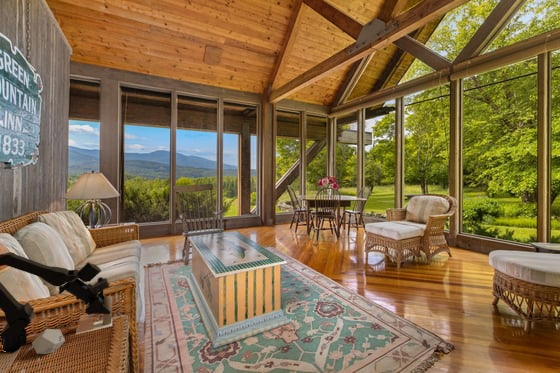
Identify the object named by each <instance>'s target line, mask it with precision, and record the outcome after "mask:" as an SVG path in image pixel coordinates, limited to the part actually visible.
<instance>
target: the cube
mask: <svg viewBox="0 0 560 373" xmlns="http://www.w3.org/2000/svg"><path fill="white" fill-rule="evenodd" d="M94 321H95V314H90V315H88V314H86V313H85V314H83V315H82V314H81V315H79V324H78V326H79V332H83V331H87V330H92V329H93V326H94Z"/></svg>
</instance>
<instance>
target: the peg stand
mask: <svg viewBox="0 0 560 373" xmlns="http://www.w3.org/2000/svg"><path fill="white" fill-rule="evenodd" d="M113 299H114V298H113V295H107V296H105V298H104V304H103V305H104V306H105V307H106V308H108V309H109V310H110V312H111V313H110V314H102V320H99V321H95V322H94V326H93V329H92V330H87V331H83V332H79V328H77V327H76V330H75V335H79V334H83V333H88V332H92V331H96V330H100V329H104V328H106V329H107V328H109V327H112V326H113V318H112V313H113Z"/></svg>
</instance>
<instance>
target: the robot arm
mask: <svg viewBox="0 0 560 373" xmlns="http://www.w3.org/2000/svg"><path fill="white" fill-rule="evenodd" d="M3 266H7V267H10V268H13V269H15V270H19V271H22V272H25V273H27V274H31V275H34V276H36V277H39V278H41V279H42V280H43V281H44V282H45V283H47V284H49V285H52V286H53V287H58V290H59V291H58V295H61V294H63V292H65V291H66V292H67V293H69V294H70V295H72V296H73V297H75V300H76V301H79V300H80V301H82V302H83V305H84V306H85V311H84V313H85V315H86V314H88V315H90V314H94V315H103V314H110V313H111V312H110V310H109V309H108V308H106V307H105V306H104V298H105V297H106V295H105V294H104V290H107V289H108V288H109V287H110V283H109V281H108V279H107V278H106V277H102V276H100V277H98V278H97V282H95V283H94V284H91V283H88V282H91V281H92V280H93V279H94V278H95V277H97V275H99V274H100V273H101V272H102V270H101V268H100V267H99V266H98V265H97V264H94V263H91V262H89V261H87V262H86V263H85V264H84V265H83V266H82V267H81V268H80V269H67V268H64V267H60V266H52V265H51V266H50V265H46V264H43V263H42V262H41V263H40V262H37V261H34V260H32V259H29V258H27V257H24V256H21V255H19V254H16V253H15V252H12V251H11V252H9V251H8V252H5V253H0V267H3ZM0 310H1V311H2V312H3V314H4V317H5V320H6V325H5V326H4V328H3V329H2V331H1V332H0V338H1V344H0V346H1V345H3V350H4V351H6V352H13V353H15V352H17V351H19V349H21V347H23V346H24V345H26V344H27V339H28V338H27V336H28V334H27V329H26V328H27V327H29V325H30V324H31V322H32V319H33V318H34V315H35V312H34V310H35V308H34V307H32V306H31V304H30V303H29V302H28V301H27V302H26V303H24V304H23V303H20V302H19V301H18V300H17V299H16V298H15V296H13V295H12V294H11V292H10V291H9V289H7V288H6V287H5V286H4V284H3V283H2V282H1V281H0ZM6 352H5V353H6Z"/></svg>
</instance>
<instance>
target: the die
mask: <svg viewBox="0 0 560 373" xmlns="http://www.w3.org/2000/svg"><path fill="white" fill-rule="evenodd" d="M65 342H66V339H65V336H64V334H63V333H62V331H61V329H59V328H58V329H53V328H46V329H45V330H44V331H42V332H41V333H40V334H39V335H38V336H37V337H36V338H35V339H34V340H33V341H32V342H31V344H32V346H33V349H34V351H35V353H36V354H37V355H48V354H52V353H54V352H56V351H57V350H58V349H59V348H60V347H61V346H62V345H63V344H64V343H65Z"/></svg>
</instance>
